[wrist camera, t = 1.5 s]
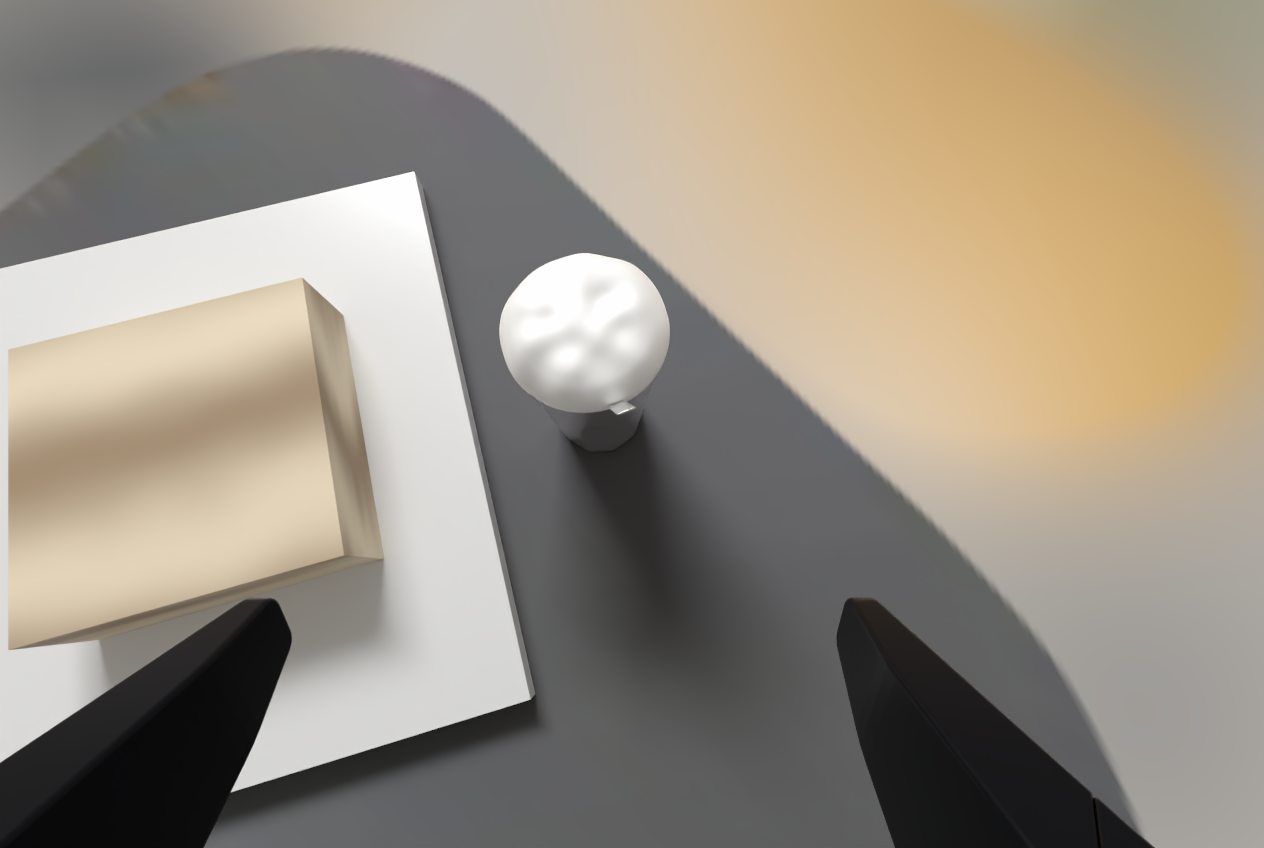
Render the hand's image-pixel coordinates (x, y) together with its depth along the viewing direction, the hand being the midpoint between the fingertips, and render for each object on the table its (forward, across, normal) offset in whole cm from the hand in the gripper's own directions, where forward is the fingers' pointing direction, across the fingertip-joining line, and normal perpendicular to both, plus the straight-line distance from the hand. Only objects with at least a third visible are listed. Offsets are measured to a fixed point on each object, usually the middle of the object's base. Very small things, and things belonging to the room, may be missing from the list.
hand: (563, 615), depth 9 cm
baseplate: (+12, +14, +6) cm, 19 cm away
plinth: (+12, +14, +6) cm, 19 cm away
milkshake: (+14, 0, +4) cm, 14 cm away
